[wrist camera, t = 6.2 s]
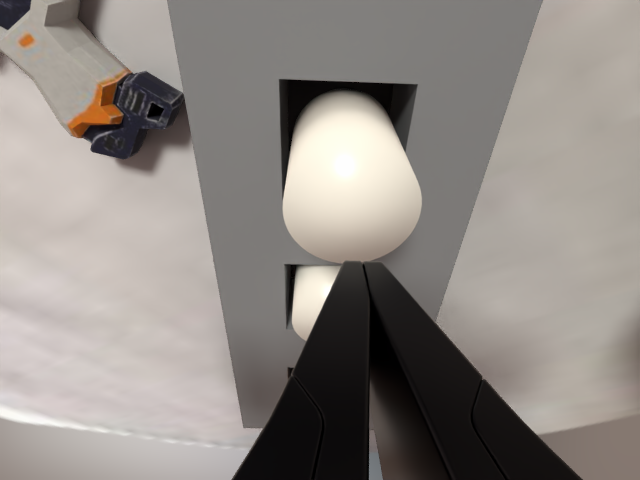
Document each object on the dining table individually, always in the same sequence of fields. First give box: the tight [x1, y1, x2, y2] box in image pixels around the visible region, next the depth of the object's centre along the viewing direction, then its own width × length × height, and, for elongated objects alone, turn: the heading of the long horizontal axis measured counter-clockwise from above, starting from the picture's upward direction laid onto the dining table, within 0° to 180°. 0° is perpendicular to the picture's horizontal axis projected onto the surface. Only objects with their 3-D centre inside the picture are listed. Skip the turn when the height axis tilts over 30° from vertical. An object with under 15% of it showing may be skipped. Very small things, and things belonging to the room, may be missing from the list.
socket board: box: [167, 0, 543, 430], centre depth 20 cm, size 11×26×4 cm, turn 178°
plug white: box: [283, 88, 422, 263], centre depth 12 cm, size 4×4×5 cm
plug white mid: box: [292, 264, 342, 341], centre depth 19 cm, size 4×4×5 cm
